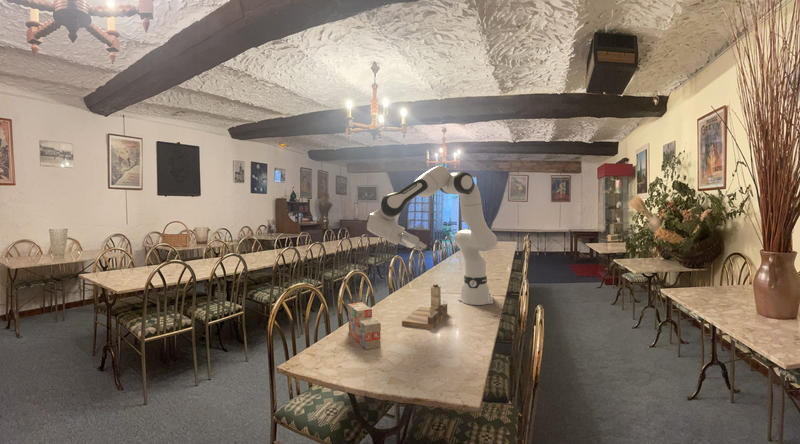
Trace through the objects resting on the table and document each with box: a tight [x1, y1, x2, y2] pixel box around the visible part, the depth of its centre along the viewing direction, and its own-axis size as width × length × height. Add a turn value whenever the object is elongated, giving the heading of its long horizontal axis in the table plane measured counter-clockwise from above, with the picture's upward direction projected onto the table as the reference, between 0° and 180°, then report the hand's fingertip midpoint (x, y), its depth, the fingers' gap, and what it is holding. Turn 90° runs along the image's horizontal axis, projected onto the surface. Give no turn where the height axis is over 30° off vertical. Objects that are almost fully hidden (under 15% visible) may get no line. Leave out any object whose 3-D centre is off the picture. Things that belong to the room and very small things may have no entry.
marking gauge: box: [429, 283, 443, 313], centre depth 176 cm, size 7×4×13 cm, turn 157°
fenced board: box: [401, 303, 448, 330], centre depth 171 cm, size 23×14×5 cm, turn 157°
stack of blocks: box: [347, 301, 381, 350], centre depth 147 cm, size 21×6×12 cm, turn 25°
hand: (424, 247), depth 172 cm, fingers open, 8 cm apart
